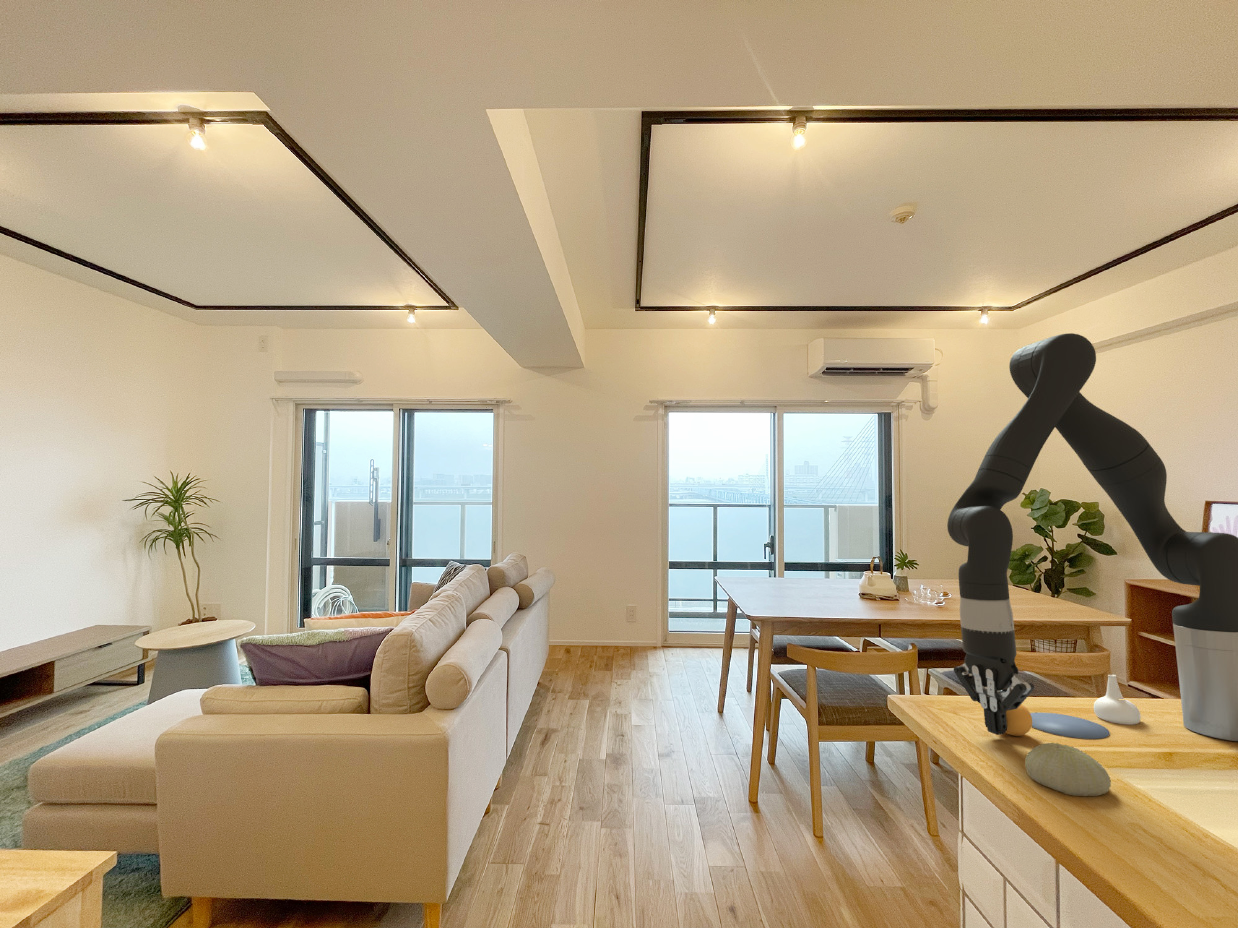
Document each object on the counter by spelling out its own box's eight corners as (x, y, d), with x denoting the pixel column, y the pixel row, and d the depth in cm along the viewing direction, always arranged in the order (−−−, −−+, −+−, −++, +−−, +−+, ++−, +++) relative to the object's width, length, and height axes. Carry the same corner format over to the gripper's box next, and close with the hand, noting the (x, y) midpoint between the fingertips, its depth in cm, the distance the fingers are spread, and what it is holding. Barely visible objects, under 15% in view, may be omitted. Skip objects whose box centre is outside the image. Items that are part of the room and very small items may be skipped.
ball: (1009, 726, 97) (1007, 693, 98) (1041, 738, 92) (1039, 703, 93) (985, 730, 96) (983, 697, 96) (1017, 742, 90) (1014, 707, 91)
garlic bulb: (1135, 720, 101) (1130, 673, 103) (1146, 728, 96) (1140, 679, 97) (1091, 714, 104) (1086, 669, 106) (1099, 722, 99) (1094, 674, 100)
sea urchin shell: (1099, 761, 79) (1105, 733, 75) (1112, 821, 74) (1120, 795, 70) (1020, 748, 84) (1021, 721, 80) (1027, 804, 79) (1029, 778, 74)
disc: (1052, 710, 105) (1052, 709, 105) (1127, 733, 94) (1127, 732, 94) (1005, 718, 101) (1005, 716, 101) (1077, 743, 90) (1077, 741, 90)
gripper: (1043, 630, 89) (1054, 744, 87) (968, 617, 101) (976, 716, 100) (1008, 634, 87) (1019, 751, 85) (936, 620, 99) (944, 722, 97)
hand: (996, 732), depth 92 cm, fingers closed
